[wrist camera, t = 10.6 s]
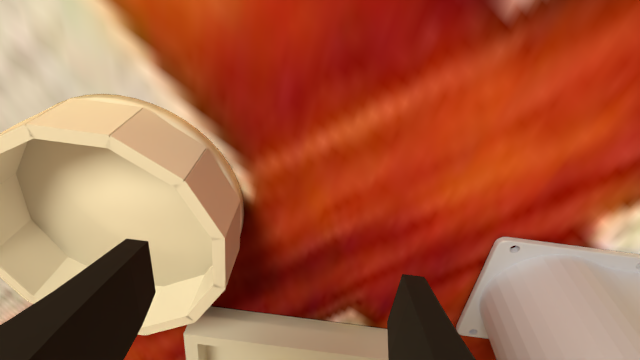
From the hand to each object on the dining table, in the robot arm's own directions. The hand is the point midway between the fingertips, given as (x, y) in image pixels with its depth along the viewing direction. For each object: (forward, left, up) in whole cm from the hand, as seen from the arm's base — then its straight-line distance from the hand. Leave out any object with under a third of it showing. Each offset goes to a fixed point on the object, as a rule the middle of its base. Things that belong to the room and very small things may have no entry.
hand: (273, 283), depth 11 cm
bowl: (+9, +5, -9) cm, 14 cm away
